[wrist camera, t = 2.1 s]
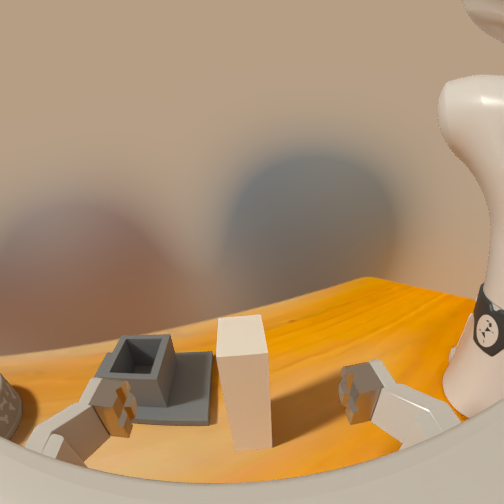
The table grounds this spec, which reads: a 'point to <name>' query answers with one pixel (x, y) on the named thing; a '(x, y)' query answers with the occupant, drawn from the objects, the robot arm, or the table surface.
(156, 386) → the socket holder
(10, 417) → the dog bowl
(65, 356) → the table surface
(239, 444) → the tall cream pillar block
